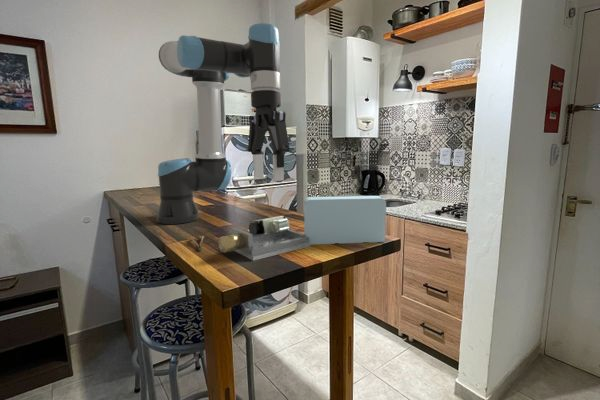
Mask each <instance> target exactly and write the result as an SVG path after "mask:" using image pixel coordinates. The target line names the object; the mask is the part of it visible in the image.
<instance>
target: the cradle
mask: <svg viewBox="0 0 600 400" xmlns="http://www.w3.org/2000/svg"><path fill="white" fill-rule="evenodd" d="M309 247H311V244H310V243H309V237H307V236H306V234H305V233H302V232H299V231H296V230H293V229H290V228H289V230H286V231H282V232H267V233H262V234H257V235H253V234H250V232H248V231H245V230H243V229H240V228H238V227H232V228H231V234H229V235H224V236H220V237H219V238H218V248H219V251H220V252H221V253H222V254H224V253H229V252H236V253H238V254H240V255H241V256H244V257H245V258H247V259H249V260H250V261H258V260H261V259H267V258H270V257H273V256H277V255H282V254H286V253H289V252H293V251H297V250H301V249H306V248H309Z"/></svg>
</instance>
